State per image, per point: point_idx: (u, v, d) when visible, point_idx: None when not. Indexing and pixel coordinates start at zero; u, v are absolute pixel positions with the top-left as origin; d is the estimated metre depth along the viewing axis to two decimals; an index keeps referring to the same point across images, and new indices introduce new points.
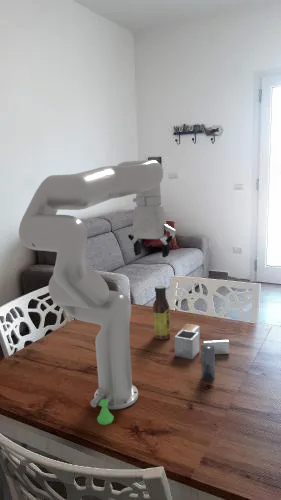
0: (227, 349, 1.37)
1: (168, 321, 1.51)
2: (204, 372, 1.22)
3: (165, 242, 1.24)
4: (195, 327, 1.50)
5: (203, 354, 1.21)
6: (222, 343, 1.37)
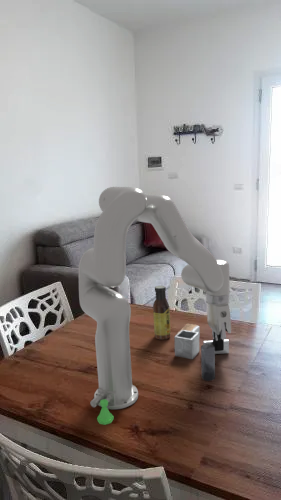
0: (227, 348, 1.38)
1: (168, 321, 1.51)
2: (204, 372, 1.22)
3: None
4: (195, 327, 1.50)
5: (203, 354, 1.21)
6: None
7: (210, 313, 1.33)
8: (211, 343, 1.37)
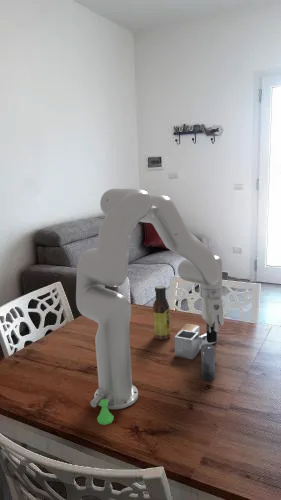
0: None
1: (168, 321, 1.51)
2: (204, 372, 1.22)
3: None
4: (195, 327, 1.50)
5: (203, 354, 1.21)
6: None
7: (204, 306, 1.39)
8: (206, 336, 1.43)
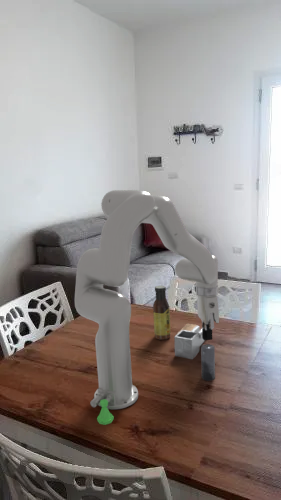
0: None
1: (168, 321, 1.51)
2: (204, 372, 1.22)
3: None
4: (195, 327, 1.50)
5: (203, 354, 1.21)
6: None
7: (200, 304, 1.42)
8: (201, 334, 1.45)
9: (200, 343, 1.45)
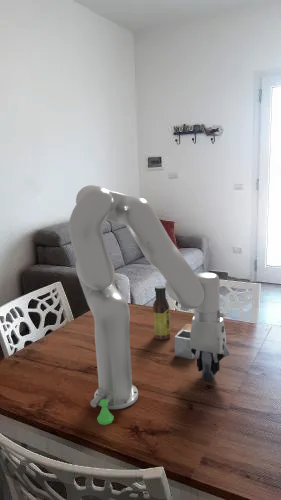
0: None
1: (168, 321, 1.51)
2: (204, 372, 1.22)
3: None
4: None
5: (203, 354, 1.21)
6: None
7: (203, 333, 1.19)
8: None
9: None
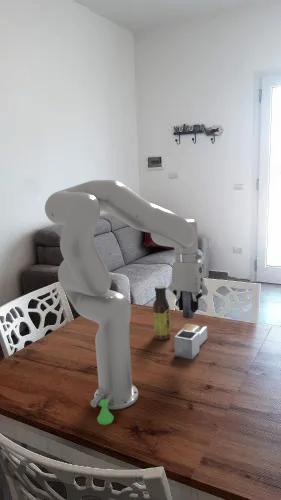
0: (206, 334, 1.50)
1: (168, 321, 1.51)
2: (184, 310, 1.34)
3: None
4: (195, 327, 1.50)
5: (183, 294, 1.32)
6: (204, 330, 1.48)
7: (183, 274, 1.30)
8: (201, 334, 1.45)
9: (200, 343, 1.45)
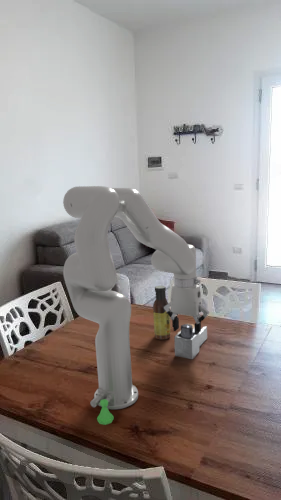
0: (206, 334, 1.50)
1: (168, 321, 1.51)
2: None
3: None
4: None
5: (182, 332, 1.37)
6: (204, 330, 1.48)
7: (182, 298, 1.33)
8: (201, 334, 1.45)
9: (200, 343, 1.45)
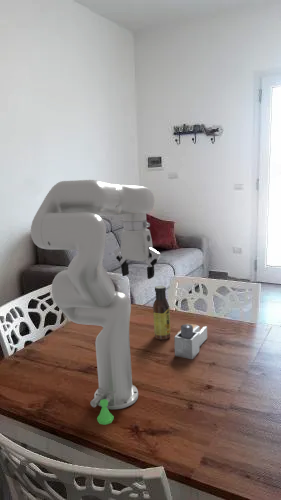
0: (206, 334, 1.50)
1: (168, 321, 1.51)
2: None
3: None
4: (195, 327, 1.50)
5: (182, 332, 1.37)
6: (204, 330, 1.48)
7: (131, 242, 1.30)
8: (201, 334, 1.45)
9: (200, 343, 1.45)
